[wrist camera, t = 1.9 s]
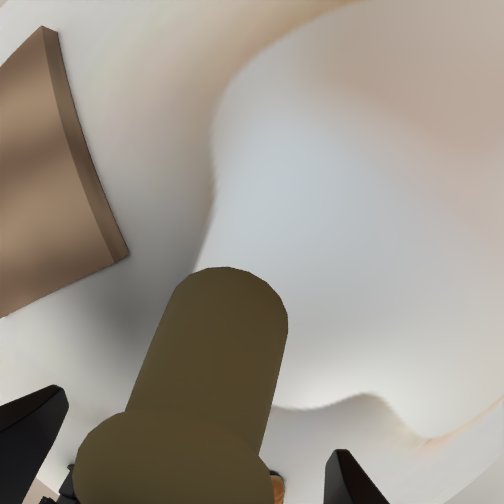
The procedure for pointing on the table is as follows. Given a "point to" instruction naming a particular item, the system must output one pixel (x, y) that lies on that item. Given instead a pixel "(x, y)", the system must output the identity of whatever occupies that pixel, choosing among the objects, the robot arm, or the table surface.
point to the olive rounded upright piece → (195, 402)
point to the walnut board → (47, 182)
